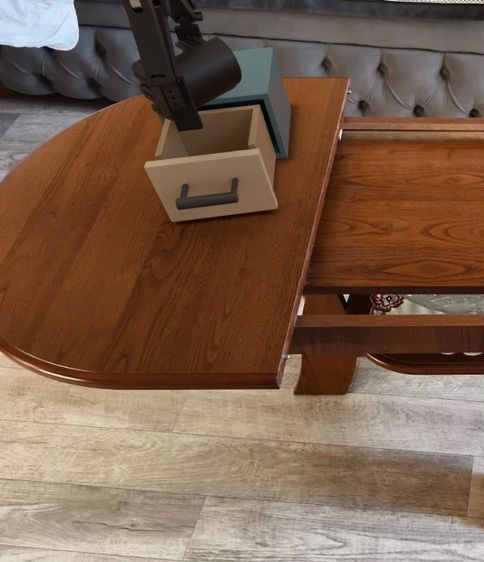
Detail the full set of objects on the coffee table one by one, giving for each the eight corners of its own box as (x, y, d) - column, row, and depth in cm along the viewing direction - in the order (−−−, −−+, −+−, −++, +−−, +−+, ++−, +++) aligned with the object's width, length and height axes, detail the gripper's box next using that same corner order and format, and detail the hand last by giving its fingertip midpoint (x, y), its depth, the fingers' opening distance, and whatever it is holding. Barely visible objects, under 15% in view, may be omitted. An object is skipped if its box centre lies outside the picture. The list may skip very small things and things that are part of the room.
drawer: (275, 230, 86) (255, 175, 80) (166, 244, 85) (137, 189, 78) (281, 156, 97) (264, 102, 90) (184, 168, 95) (160, 114, 89)
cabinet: (287, 158, 98) (267, 93, 90) (183, 170, 96) (153, 105, 89) (291, 109, 106) (273, 46, 99) (195, 120, 105) (169, 57, 97)
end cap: (181, 131, 80) (158, 80, 75) (147, 111, 83) (123, 61, 78) (250, 94, 85) (233, 43, 80) (216, 76, 88) (197, 26, 83)
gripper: (108, -127, 75) (180, 54, 91) (48, -39, 59) (149, 162, 75) (178, -132, 76) (238, 49, 92) (137, -47, 60) (218, 154, 76)
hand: (198, 100), depth 84 cm, fingers closed on end cap, 11 cm apart
